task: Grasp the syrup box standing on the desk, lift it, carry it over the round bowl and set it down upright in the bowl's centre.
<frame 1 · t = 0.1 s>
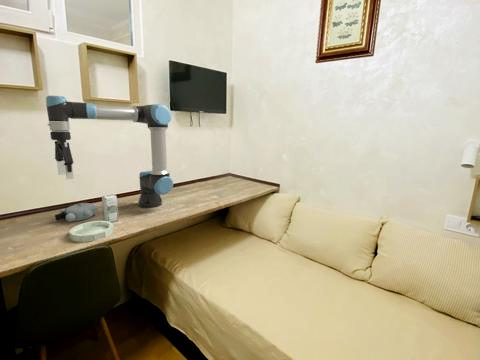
hand: (65, 176, 120), 28 cm above the table, fingers open, 13 cm apart
syrup box: (111, 221, 140), on the table
round bowl: (92, 233, 124), on the table
figurine: (77, 218, 143), on the table
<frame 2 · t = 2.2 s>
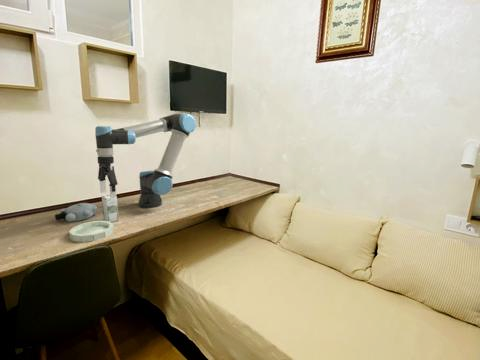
hand: (108, 194, 137), 15 cm above the table, fingers open, 13 cm apart
nothing on the table moved.
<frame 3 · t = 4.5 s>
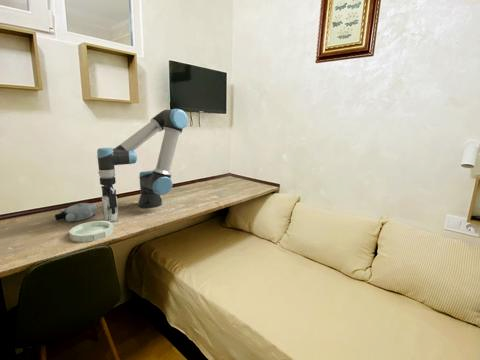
hand: (111, 217, 140), 2 cm above the table, fingers closed on syrup box, 6 cm apart
syrup box: (111, 221, 140), on the table, touching gripper
everything else where it was.
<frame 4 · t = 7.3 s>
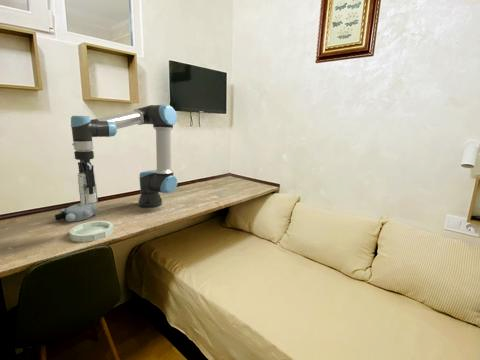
hand: (89, 198, 120), 18 cm above the table, fingers closed on syrup box, 6 cm apart
syrup box: (89, 203, 120), point 16 cm above the table, touching gripper
everything else where it was.
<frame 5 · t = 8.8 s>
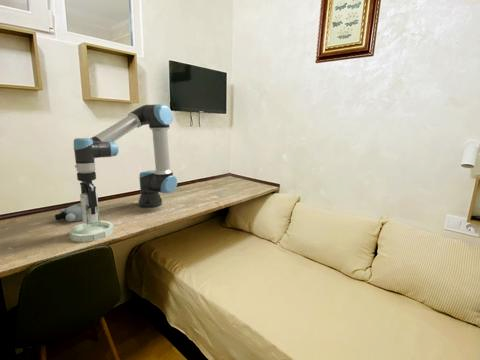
hand: (91, 218, 122), 8 cm above the table, fingers closed on syrup box, 6 cm apart
syrup box: (91, 222, 122), point 6 cm above the table, touching gripper
everything else where it was.
when the fingers open (4 cm above the table, at t = 10.3 s): syrup box drops 1 cm, resting on round bowl.
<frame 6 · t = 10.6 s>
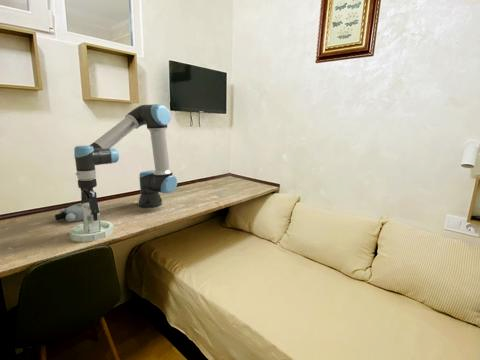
hand: (91, 223, 123), 5 cm above the table, fingers open, 10 cm apart
syrup box: (92, 231, 123), point 1 cm above the table, touching round bowl
everything else where it was.
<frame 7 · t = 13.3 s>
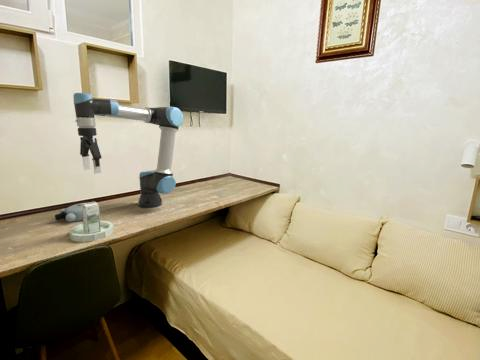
hand: (92, 171, 124), 30 cm above the table, fingers open, 13 cm apart
nothing on the table moved.
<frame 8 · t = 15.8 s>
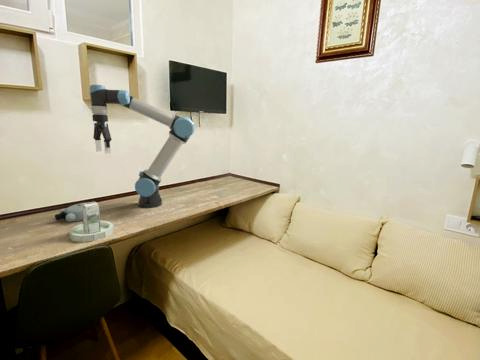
hand: (103, 152, 145), 37 cm above the table, fingers open, 13 cm apart
nothing on the table moved.
at the end: syrup box 0.2 cm from the round bowl (horizontally); syrup box tilted 0°; syrup box point 0.8 cm above the table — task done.
